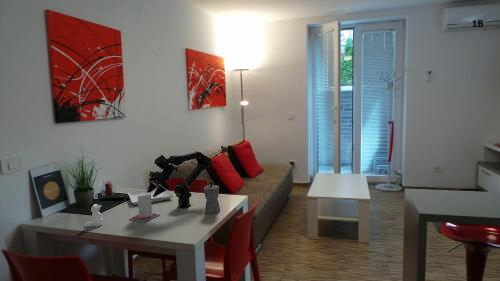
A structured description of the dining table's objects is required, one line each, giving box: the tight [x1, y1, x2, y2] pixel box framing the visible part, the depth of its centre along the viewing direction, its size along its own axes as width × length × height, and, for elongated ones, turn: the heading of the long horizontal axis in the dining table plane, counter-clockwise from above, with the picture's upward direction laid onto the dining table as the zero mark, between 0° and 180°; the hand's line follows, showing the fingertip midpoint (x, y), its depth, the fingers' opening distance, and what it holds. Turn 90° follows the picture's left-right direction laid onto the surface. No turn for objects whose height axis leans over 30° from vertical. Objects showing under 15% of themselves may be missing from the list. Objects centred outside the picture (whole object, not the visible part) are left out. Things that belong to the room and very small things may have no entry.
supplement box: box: [137, 192, 153, 218], centre depth 202 cm, size 7×7×13 cm
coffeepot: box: [202, 181, 221, 215], centre depth 208 cm, size 15×9×18 cm, turn 13°
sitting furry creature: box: [84, 203, 105, 228], centre depth 194 cm, size 10×9×12 cm
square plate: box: [127, 188, 174, 206], centre depth 243 cm, size 27×27×4 cm
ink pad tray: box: [128, 212, 160, 223], centre depth 203 cm, size 12×12×1 cm
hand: (150, 195), depth 204 cm, fingers open, 9 cm apart
